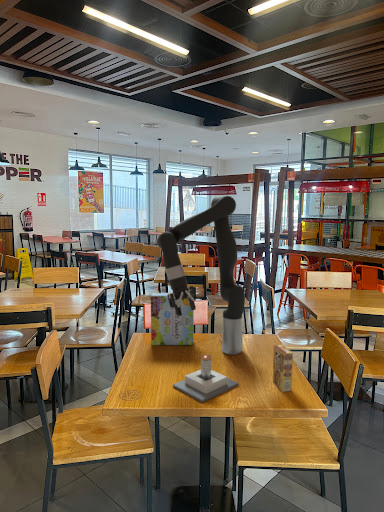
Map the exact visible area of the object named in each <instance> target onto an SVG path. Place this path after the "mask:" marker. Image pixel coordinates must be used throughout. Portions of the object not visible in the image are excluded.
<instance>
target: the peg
mask: <svg viewBox="0 0 384 512" xmlns="http://www.w3.org/2000/svg"><path fill="white" fill-rule="evenodd" d="M200 370H201V379H203V380H205V381H207V380H209V379H211V370H212V355H211V354H207V353H206V354H202V355H200Z"/></svg>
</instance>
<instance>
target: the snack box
mask: <svg viewBox="0 0 384 512" xmlns="http://www.w3.org/2000/svg"><path fill="white" fill-rule="evenodd" d="M170 293H171V292H152V293H151V295H150V335H151V336H150V339H151V340H150V341H151V345H150V346H193V345H194V337H195V336H194V335H195V334H194V332H195V330H194V327H195V326H194V325H195V324H194V321H195V320H194V319H195V318H194V316H195V315H194V313H195V312H194V311H195V310H191V307H190V304H189V301H188V300H187V299H183V300H181V302H180V306H179V307H180V309H181V312H182V316H178V315H177V314H176V311H175V308H171V307H170V304H169V300H168V294H170ZM188 293H189V292H188ZM189 294H190V293H189ZM174 299H175V297H174ZM177 300H178V299H177ZM172 304H173V303H172Z"/></svg>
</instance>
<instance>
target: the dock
mask: <svg viewBox="0 0 384 512" xmlns="http://www.w3.org/2000/svg"><path fill="white" fill-rule="evenodd" d="M238 386H239V382H238V381H235V380H233V379H231V378H228V376H226V375H223V374H221V373H219V372H217V371H215V370H212V369H211V379H209V380H207V381H205V380H203V379H201V369H198V370H197V371H194V372H190V373H188V374H186V375H184V380H181V381H178V382H175V383H173V384H172V387H173V388H174V389H176V390H178V391H180V392H181V393H184V395H187V396H189V397H191V398H193V399H195V400H196V401H198V402H200V403H203V404H204V402H206V401H208V400H209V401H210V400H211V399H212V398H215V397H217V396H219V395H221V394H223V393H226V392H227V391H229V390H232V389H233V388H235V387H238Z"/></svg>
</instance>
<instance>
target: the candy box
mask: <svg viewBox="0 0 384 512" xmlns="http://www.w3.org/2000/svg"><path fill="white" fill-rule="evenodd" d="M293 359H294V352H293V351H291V350H290V349H289V348H287V347H286V346H285V345H283V344H278V345H276V344H275V345H273V364H272V367H273V368H272V374H273V375H272V383H273V384H275V386H276V387H277V388H278V390H280V392H283V393H285V392H292V389H293V386H292V385H293V365H294V364H293V362H294V360H293Z"/></svg>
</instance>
